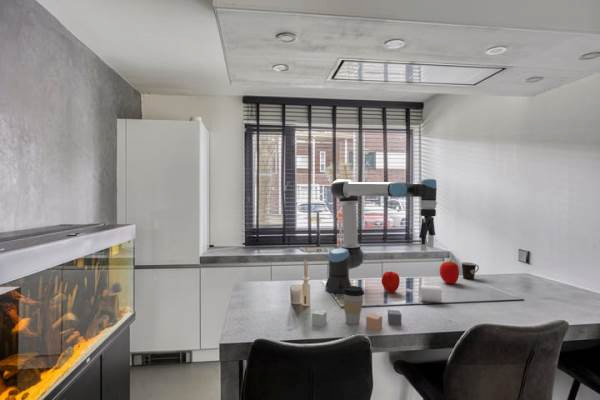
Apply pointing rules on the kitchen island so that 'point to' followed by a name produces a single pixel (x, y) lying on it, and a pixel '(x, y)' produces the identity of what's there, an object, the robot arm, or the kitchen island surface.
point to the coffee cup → (352, 304)
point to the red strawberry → (449, 272)
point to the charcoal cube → (394, 317)
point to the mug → (430, 293)
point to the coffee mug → (469, 270)
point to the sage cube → (319, 317)
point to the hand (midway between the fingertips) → (427, 249)
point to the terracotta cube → (374, 322)
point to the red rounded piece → (390, 281)
